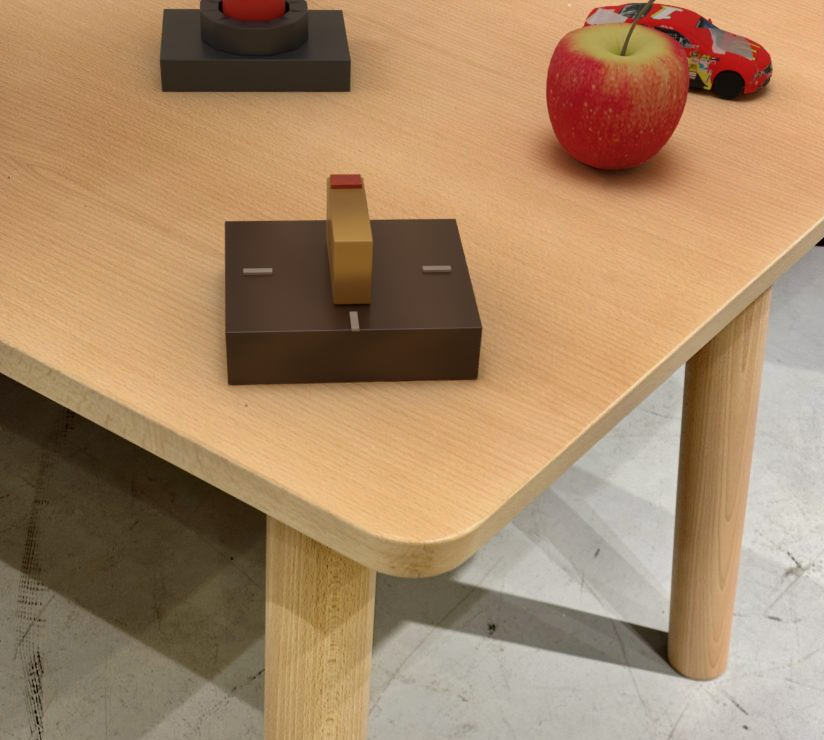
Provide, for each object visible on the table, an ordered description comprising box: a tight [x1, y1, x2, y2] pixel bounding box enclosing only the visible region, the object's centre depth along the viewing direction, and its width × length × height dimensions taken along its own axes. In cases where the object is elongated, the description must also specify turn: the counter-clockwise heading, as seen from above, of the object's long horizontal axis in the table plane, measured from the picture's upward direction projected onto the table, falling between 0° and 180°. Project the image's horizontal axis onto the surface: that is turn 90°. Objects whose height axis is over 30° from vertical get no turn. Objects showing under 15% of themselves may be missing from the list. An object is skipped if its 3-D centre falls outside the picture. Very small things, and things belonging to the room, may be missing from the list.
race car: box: [582, 2, 774, 100], centre depth 93 cm, size 13×5×4 cm, turn 69°
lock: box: [325, 173, 373, 305], centre depth 67 cm, size 6×2×4 cm, turn 6°
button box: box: [159, 0, 352, 93], centre depth 90 cm, size 12×8×4 cm, turn 96°
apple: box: [545, 0, 690, 171], centre depth 81 cm, size 8×8×10 cm
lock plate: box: [224, 218, 483, 385], centre depth 69 cm, size 12×10×3 cm
